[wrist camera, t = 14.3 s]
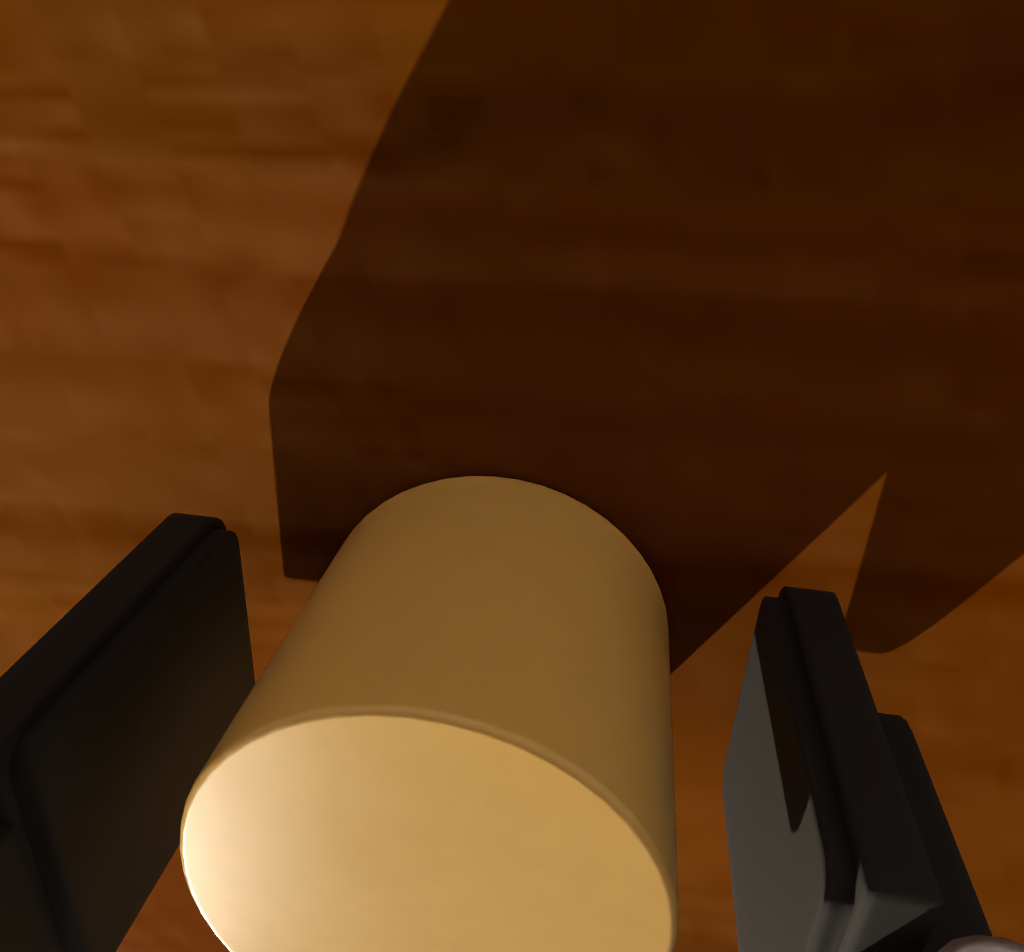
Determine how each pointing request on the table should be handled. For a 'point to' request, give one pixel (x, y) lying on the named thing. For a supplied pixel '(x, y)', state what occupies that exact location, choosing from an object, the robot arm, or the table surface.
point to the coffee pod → (453, 744)
